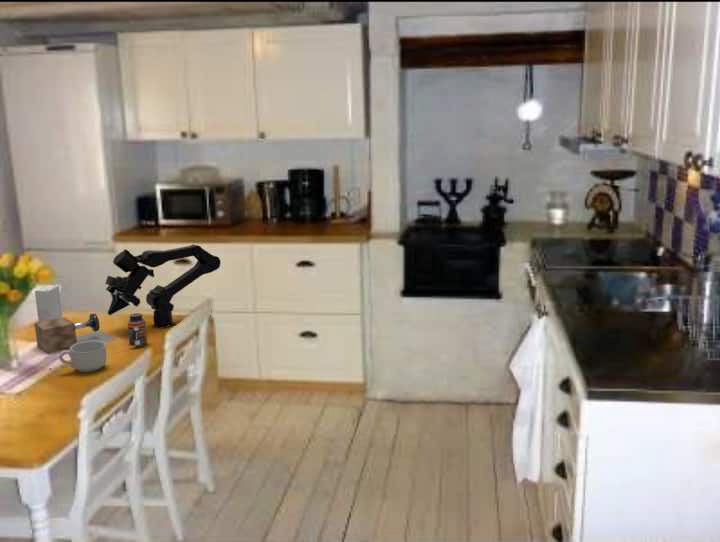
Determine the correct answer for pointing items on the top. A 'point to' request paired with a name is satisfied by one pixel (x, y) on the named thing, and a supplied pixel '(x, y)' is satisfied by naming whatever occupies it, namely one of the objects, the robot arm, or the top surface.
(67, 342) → the press housing
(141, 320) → the supplement bottle
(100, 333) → the slate board
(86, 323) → the plunger
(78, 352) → the teacup
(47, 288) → the skincare box
